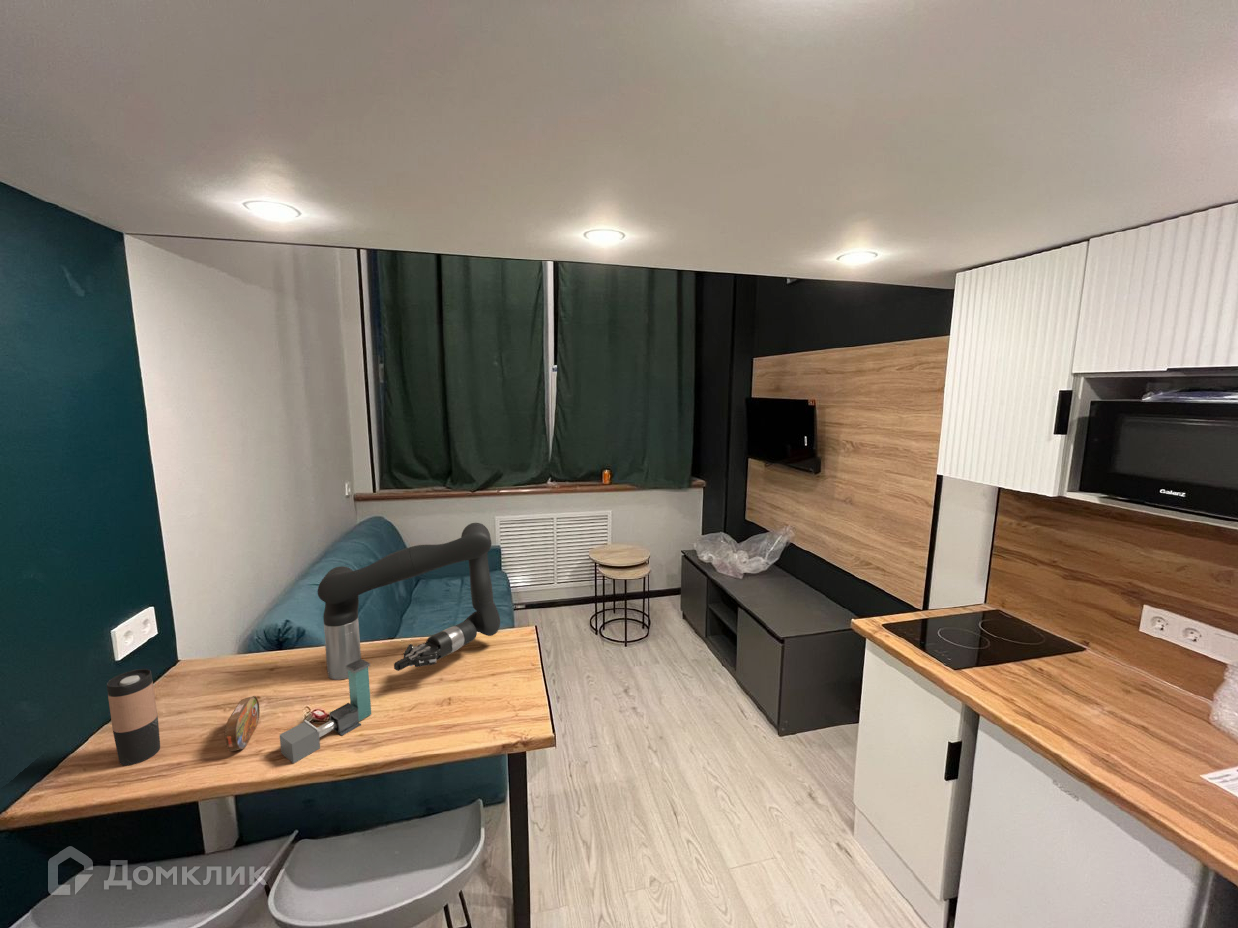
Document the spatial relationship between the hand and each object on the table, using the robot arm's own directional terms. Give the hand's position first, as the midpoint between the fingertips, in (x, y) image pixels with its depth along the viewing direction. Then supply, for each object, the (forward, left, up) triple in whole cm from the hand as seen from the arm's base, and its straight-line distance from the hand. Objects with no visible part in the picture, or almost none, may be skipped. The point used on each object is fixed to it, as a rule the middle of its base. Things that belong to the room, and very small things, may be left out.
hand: (395, 667), depth 140 cm
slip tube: (0, -18, -9) cm, 20 cm away
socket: (0, -26, -9) cm, 28 cm away
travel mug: (-31, -47, -9) cm, 57 cm away
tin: (-17, -31, -9) cm, 37 cm away
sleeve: (0, -15, -9) cm, 18 cm away
